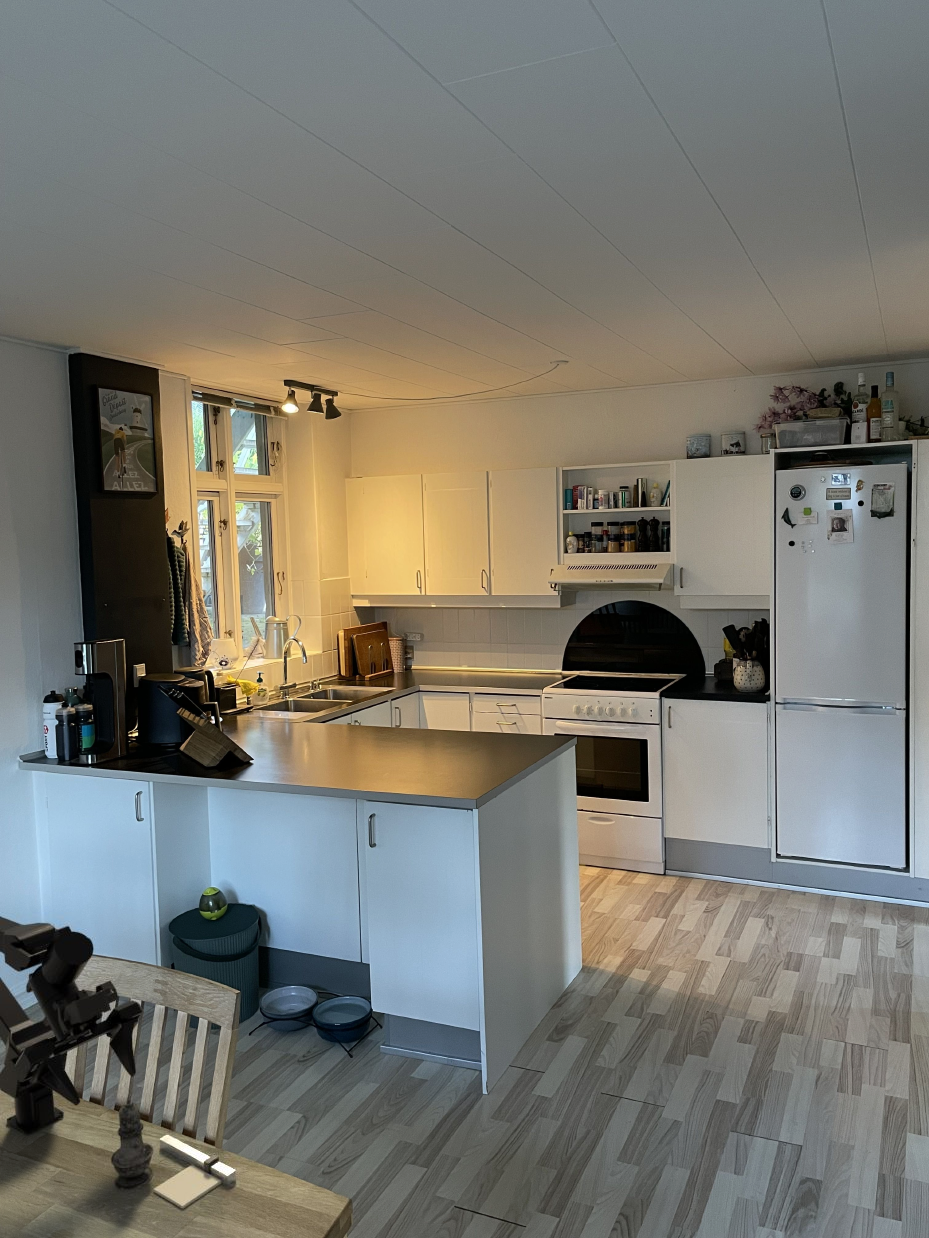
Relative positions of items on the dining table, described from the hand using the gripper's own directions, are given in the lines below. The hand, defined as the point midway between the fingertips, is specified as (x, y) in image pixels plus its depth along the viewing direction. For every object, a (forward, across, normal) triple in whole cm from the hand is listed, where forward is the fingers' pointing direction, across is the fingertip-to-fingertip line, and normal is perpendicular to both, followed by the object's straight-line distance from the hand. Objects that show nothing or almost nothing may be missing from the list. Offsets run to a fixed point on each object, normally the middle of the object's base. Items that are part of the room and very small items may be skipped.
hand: (106, 1088), depth 145 cm
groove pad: (+18, +3, -2) cm, 18 cm away
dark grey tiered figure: (+12, 0, +5) cm, 13 cm away
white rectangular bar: (+16, +7, +1) cm, 17 cm away
